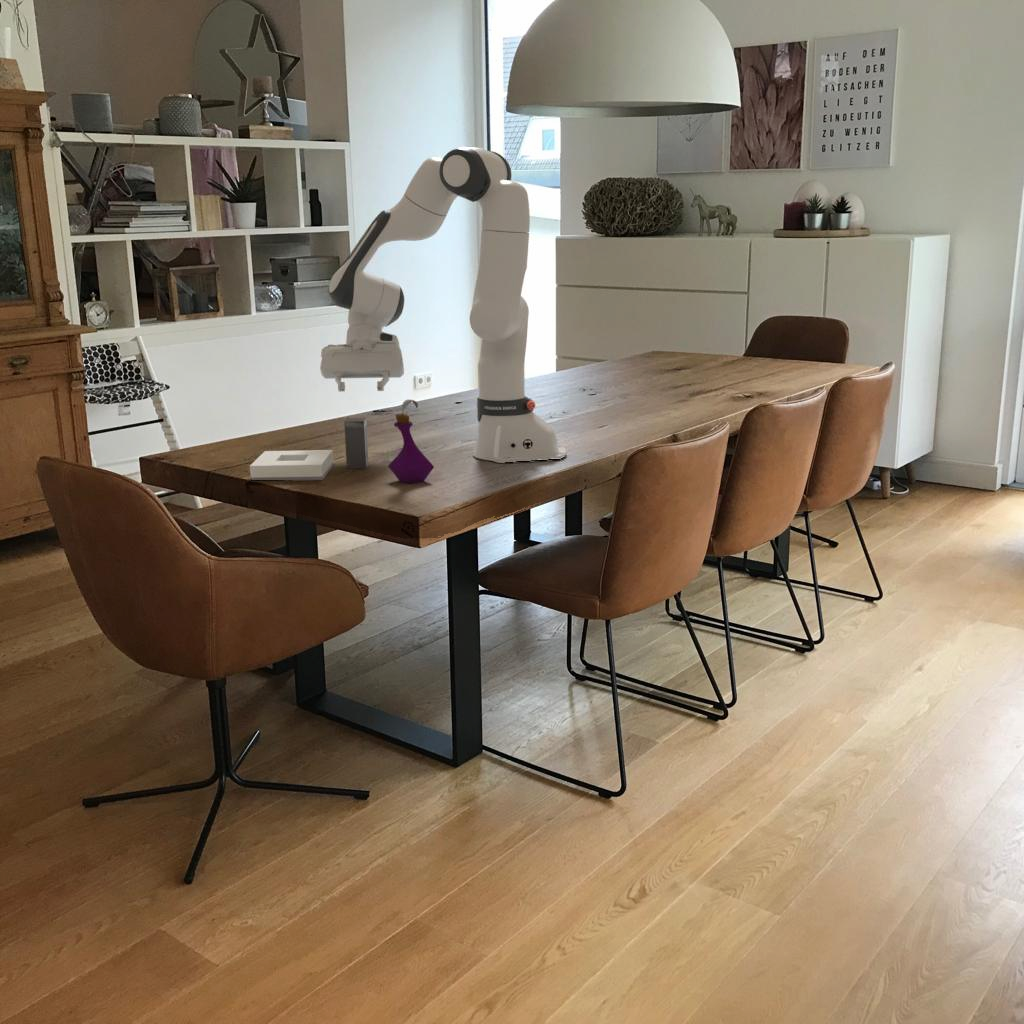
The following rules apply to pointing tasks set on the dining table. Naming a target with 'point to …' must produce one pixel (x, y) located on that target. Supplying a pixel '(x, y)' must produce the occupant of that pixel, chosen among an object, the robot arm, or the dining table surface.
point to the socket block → (292, 465)
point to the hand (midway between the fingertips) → (360, 389)
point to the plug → (356, 442)
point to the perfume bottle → (409, 453)
